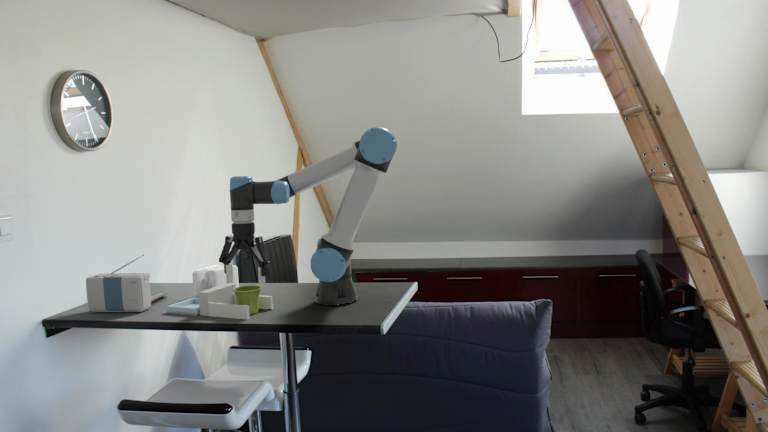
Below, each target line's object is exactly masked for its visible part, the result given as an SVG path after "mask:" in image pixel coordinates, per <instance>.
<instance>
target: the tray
mask: <svg viewBox="0 0 768 432" xmlns="http://www.w3.org/2000/svg"><path fill="white" fill-rule="evenodd" d="M166 311H167V314H172V315H183V316H193V317H195V316H196V317H197V316H201V315H200V307H199V298H196V297H190V298H188V299H185V300H182V301H178V302H175V303H172V304H169V305H166Z"/></svg>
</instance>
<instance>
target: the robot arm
mask: <svg viewBox="0 0 768 432" xmlns="http://www.w3.org/2000/svg"><path fill="white" fill-rule="evenodd" d="M397 146H398V144H397V140H396V136H395V135H394V134H393V132H391V131H390V129H387V128H385V127H381V126H374V127H370V128H368V129H367V130H366V131H365V132H364V133H363V134H362V136H361V137H360V139H359V140H357V141H355V142H353V143H352V146H350V147H348V148H346V149H344V150H342V151H339V152H337V153H335V154H333V155H330V156H328V157H326V158H324V159H322V160H319V161H317V162H315V163H313V164H310V165H308V166H306V167H303V168H301V169H299V170H296V171H295V172H293V173H289V174H287V175H285V176H283V177H282V178H281V177H280V178H278V179H277V180H270V181H254V179H253V176H250V175H244V176H243V175H242V176H241V175H239V176H231V177H230V179H229V199H230V215H231V222H232V223H231V235H227V236H225V238H224V239H225V240H224V244H223V247H222V250H221V253H220V256H219V259H218V263H222V264H223V267H224V272H225V274H226V284H229V283H233V265H234V264H233V263H232V261H233V260H234V258H235V257H236V255H237V253H239V250H241V251H242V250H243V251H248V252H250V254H251V255H252V257H253V259H255V261H256V263H258V265H259V266H257V270H258V271H257V273H258V277H257V278H258V286H260V287H261V288H262V287H264V286H266V276H267V274H268V271H267V270H268V269H267V268H268V267H267V266H269V265H271V264H272V260H271V258H270V256H269V253H268V251H267V248H266V247H265V244H264V239H263V236H258V237H255V232H256V227H255V222H254V221H255V208H254V206H255V205H281V204H287V203H289V201H290V199H291V198H292V197H294V196H296V195H299V194H301V193H303V192H306V191H308V190H310V189H312V188H316V187H318V186H320V185H322V184H324V183H327V182H329V181H331V180H333V179H335V178H338V177H340V176H343V175H345V174H347V173H349V172H352V171H353V173H352V175H351V177H350V179H349V182H348V184H347V187H346V189H345V191H344V194H343V197H342V199H341V201H340V203H339V206H338V208H337V211H336V213H335V214H334V215H335V216H334V218H333V221H332V223H331V225H330V228H329V230H328V232H327V233H325V234H322V235H321V237H320V238H319V239H318V240H317V244H316V250H315V252H314V253H313V254H312V255H311V258H310V270H311V272H312V274H313V275H314V277H315V278H316V279H318V281H319V282H318V283H317V289H316V292H315V297H314V298H315V303H316V304H317V303H318V304H317V305H320V304H323V305H322V306H328V305H335V306H338V305H337V304H345V303H350V302H353V301H355V300H357V301H358V292H357V290H356V287H355V283H354V282H353V280H352V261H351V258H352V255H353V252H354V250H355V246H354V244H353V241H354V239H355V237H356V234H357V232H358V230H359V227H360V224H361V221H362V220H363V218H364V215H365V212H366V210H367V208H368V205H369V204H370V200H371V198H372V196H373V194H374V191H375V189H376V187H377V184H378V182H379V179H380V177H381V176H384V175H386V174H387V172H388V169H389V167H390V164H391V162H392V159H393V158H394V156H395V153H396V152H397ZM355 302H356V301H355ZM353 303H354V302H353ZM350 304H351V303H350ZM345 305H346V304H345Z"/></svg>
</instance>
